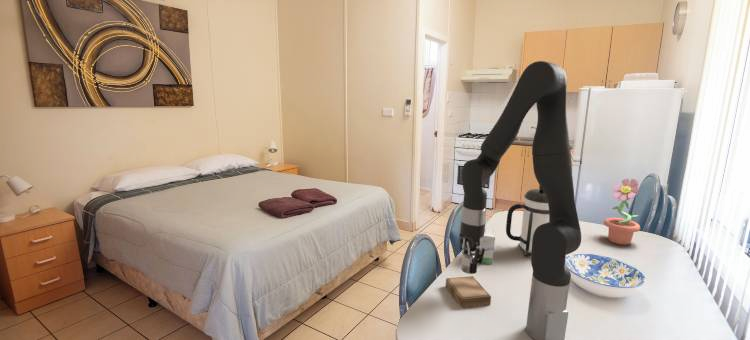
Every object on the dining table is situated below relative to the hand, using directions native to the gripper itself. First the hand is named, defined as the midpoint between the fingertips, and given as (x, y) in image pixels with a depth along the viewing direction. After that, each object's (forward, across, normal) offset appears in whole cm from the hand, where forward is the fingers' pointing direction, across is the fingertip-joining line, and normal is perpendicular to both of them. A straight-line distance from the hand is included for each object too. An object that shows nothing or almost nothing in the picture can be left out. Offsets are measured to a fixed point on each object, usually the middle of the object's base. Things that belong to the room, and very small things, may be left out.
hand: (469, 268), depth 118 cm
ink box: (+10, -24, +19) cm, 32 cm away
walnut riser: (+10, 0, 0) cm, 10 cm away
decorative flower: (+10, -32, +90) cm, 96 cm away
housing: (0, 0, 0) cm, 0 cm away
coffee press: (+10, -27, +42) cm, 51 cm away
